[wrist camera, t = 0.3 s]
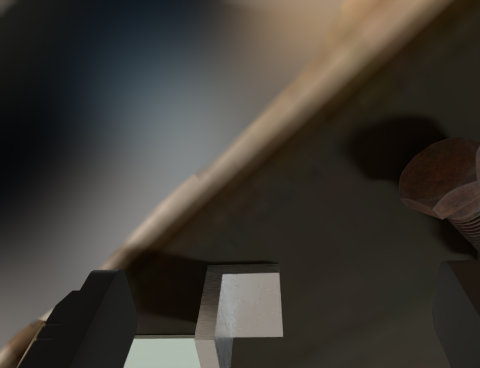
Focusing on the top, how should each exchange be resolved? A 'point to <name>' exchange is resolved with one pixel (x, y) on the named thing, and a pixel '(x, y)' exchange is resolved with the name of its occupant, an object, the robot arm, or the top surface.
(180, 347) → the pad
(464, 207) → the bolt
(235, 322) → the angle bracket
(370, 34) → the top surface
